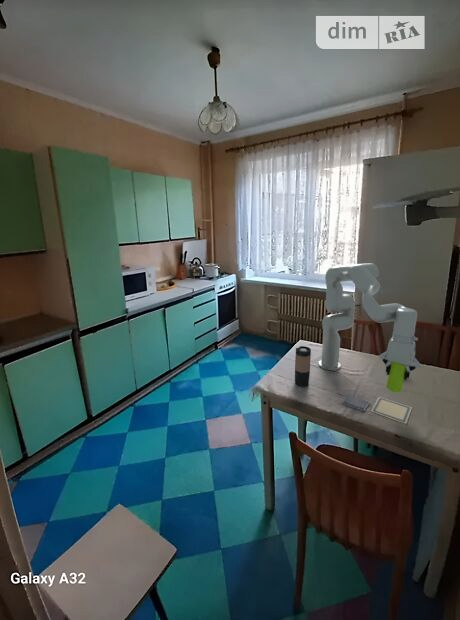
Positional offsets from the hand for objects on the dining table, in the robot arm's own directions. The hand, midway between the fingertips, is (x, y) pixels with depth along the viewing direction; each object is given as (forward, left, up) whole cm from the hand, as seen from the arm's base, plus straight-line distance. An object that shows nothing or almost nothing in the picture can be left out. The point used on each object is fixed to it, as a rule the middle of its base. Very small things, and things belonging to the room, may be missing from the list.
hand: (396, 375), depth 126 cm
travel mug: (+4, -42, -17) cm, 46 cm away
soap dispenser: (0, 0, -7) cm, 7 cm away
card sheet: (0, 0, -17) cm, 17 cm away
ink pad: (+5, -14, -17) cm, 23 cm away
